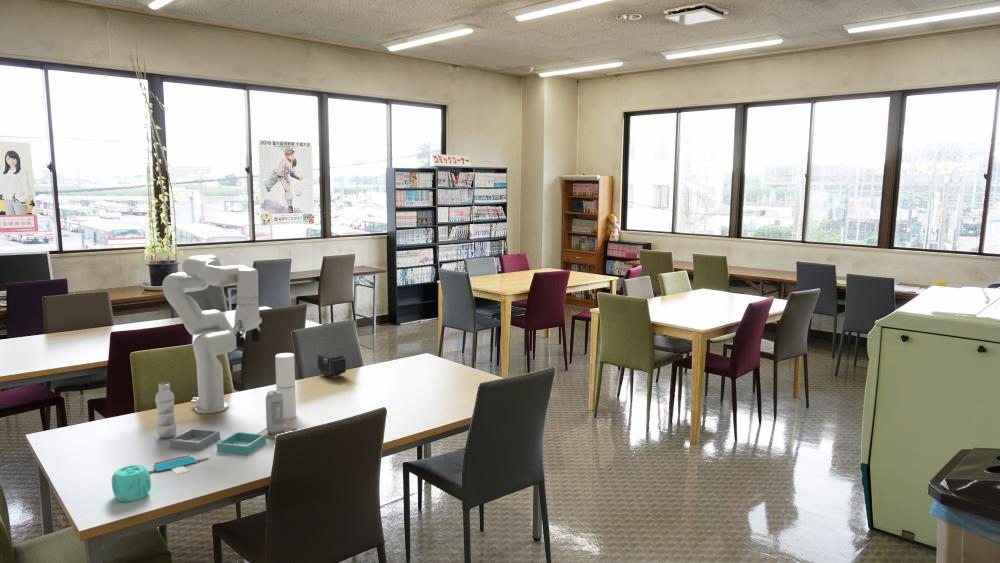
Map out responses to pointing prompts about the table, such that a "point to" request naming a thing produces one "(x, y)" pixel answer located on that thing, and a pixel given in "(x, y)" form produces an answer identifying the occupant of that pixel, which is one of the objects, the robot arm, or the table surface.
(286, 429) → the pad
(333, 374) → the camera
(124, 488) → the decorative dice
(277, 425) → the energy drink can
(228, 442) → the teal flat square frame
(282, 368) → the cylindrical container
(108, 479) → the table surface
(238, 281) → the robot arm
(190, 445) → the grey crate
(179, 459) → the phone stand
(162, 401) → the plastic bottle
